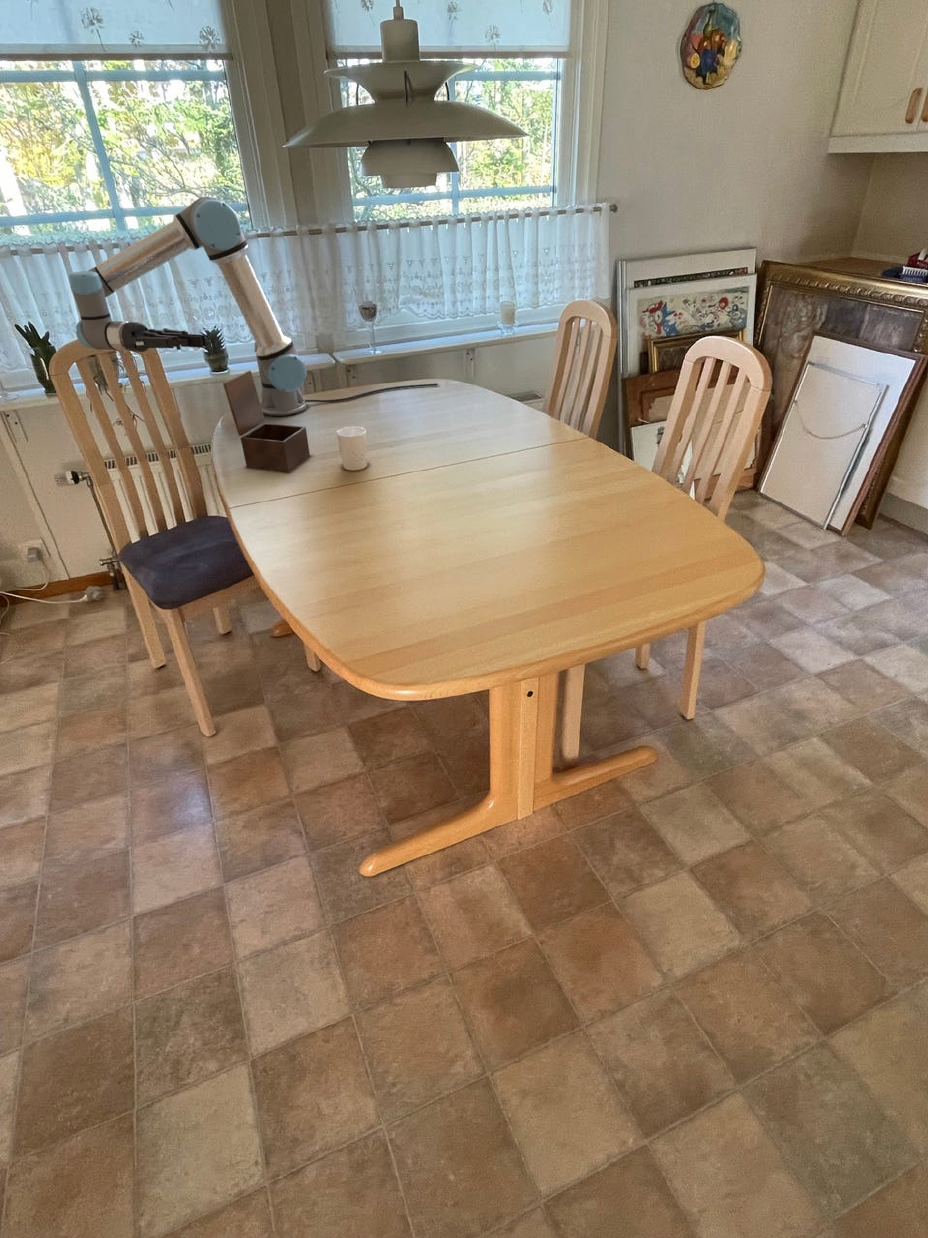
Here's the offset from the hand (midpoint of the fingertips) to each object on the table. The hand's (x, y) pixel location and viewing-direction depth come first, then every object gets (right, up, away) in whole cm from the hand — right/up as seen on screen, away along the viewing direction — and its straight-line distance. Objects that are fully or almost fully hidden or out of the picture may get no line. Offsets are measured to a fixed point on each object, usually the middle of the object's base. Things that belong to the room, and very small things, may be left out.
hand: (203, 341), depth 184 cm
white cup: (+39, -31, +10) cm, 51 cm away
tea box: (+16, -29, +14) cm, 36 cm away
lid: (+9, -14, +6) cm, 18 cm away
